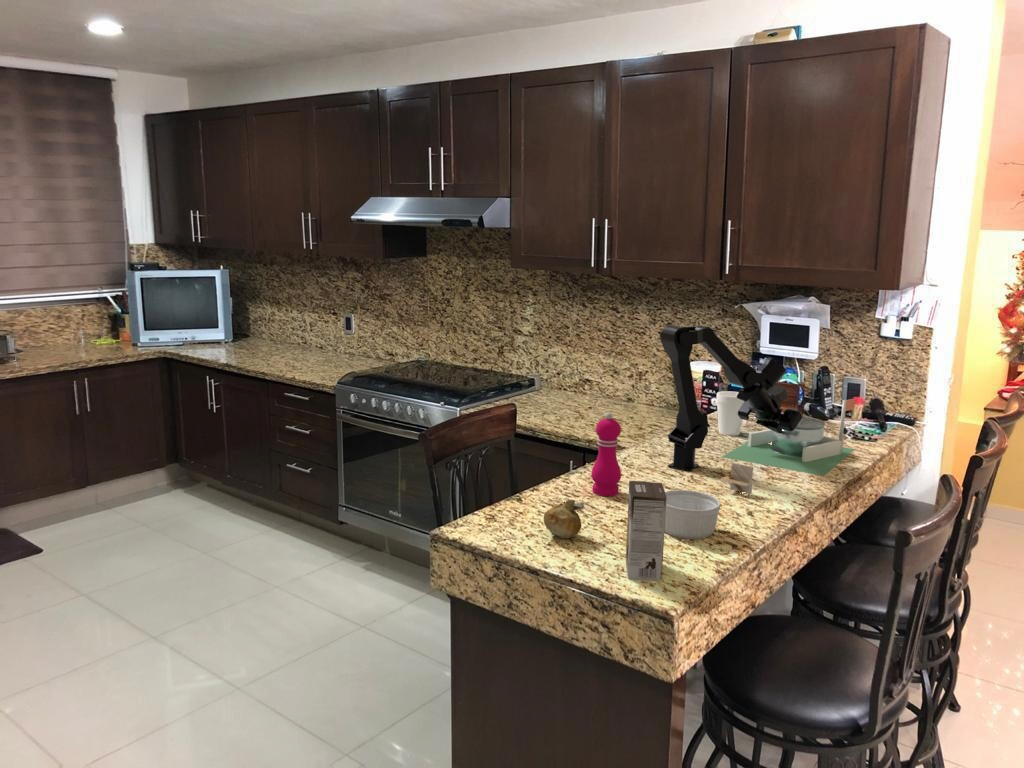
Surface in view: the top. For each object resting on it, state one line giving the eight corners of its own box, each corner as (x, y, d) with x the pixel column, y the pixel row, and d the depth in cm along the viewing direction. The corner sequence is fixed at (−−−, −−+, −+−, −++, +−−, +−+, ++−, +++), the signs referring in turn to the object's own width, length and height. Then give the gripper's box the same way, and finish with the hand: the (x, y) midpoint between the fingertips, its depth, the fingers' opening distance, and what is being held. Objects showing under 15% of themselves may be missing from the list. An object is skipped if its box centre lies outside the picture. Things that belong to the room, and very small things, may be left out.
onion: (550, 527, 170) (551, 491, 169) (586, 533, 167) (587, 497, 166) (537, 539, 163) (538, 502, 162) (574, 545, 160) (576, 508, 159)
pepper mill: (603, 485, 199) (606, 408, 195) (626, 492, 194) (630, 413, 190) (584, 491, 194) (587, 412, 190) (607, 499, 189) (611, 417, 185)
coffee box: (624, 559, 154) (628, 479, 151) (657, 561, 154) (662, 481, 151) (626, 579, 145) (631, 495, 142) (662, 581, 145) (667, 497, 142)
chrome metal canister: (812, 459, 226) (815, 429, 225) (764, 450, 235) (766, 421, 233) (828, 450, 237) (831, 420, 235) (782, 441, 246) (784, 413, 244)
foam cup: (747, 437, 251) (750, 397, 248) (718, 437, 251) (721, 396, 248) (739, 430, 260) (742, 391, 258) (711, 429, 260) (714, 390, 258)
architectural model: (745, 499, 193) (747, 470, 191) (719, 493, 197) (721, 464, 196) (751, 496, 195) (754, 467, 194) (725, 490, 200) (727, 461, 198)
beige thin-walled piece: (804, 462, 224) (810, 406, 221) (747, 446, 240) (752, 394, 237) (850, 451, 236) (856, 399, 233) (793, 437, 252) (798, 387, 249)
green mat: (824, 476, 211) (824, 476, 211) (721, 457, 227) (721, 456, 227) (855, 449, 239) (855, 449, 239) (761, 434, 255) (761, 433, 255)
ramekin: (730, 539, 166) (732, 507, 165) (673, 544, 162) (675, 512, 161) (698, 517, 179) (700, 487, 177) (645, 522, 175) (646, 491, 174)
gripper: (801, 382, 218) (822, 417, 226) (747, 372, 233) (768, 405, 241) (781, 413, 215) (802, 447, 223) (727, 400, 230) (749, 433, 238)
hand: (780, 432), depth 232 cm, fingers closed
